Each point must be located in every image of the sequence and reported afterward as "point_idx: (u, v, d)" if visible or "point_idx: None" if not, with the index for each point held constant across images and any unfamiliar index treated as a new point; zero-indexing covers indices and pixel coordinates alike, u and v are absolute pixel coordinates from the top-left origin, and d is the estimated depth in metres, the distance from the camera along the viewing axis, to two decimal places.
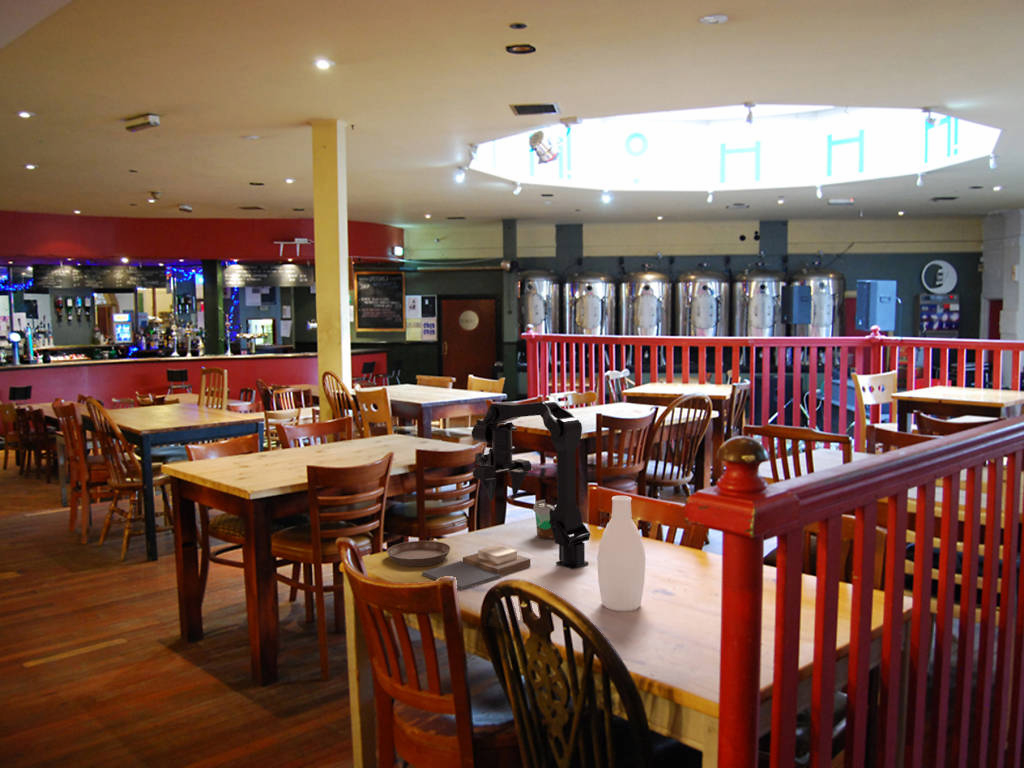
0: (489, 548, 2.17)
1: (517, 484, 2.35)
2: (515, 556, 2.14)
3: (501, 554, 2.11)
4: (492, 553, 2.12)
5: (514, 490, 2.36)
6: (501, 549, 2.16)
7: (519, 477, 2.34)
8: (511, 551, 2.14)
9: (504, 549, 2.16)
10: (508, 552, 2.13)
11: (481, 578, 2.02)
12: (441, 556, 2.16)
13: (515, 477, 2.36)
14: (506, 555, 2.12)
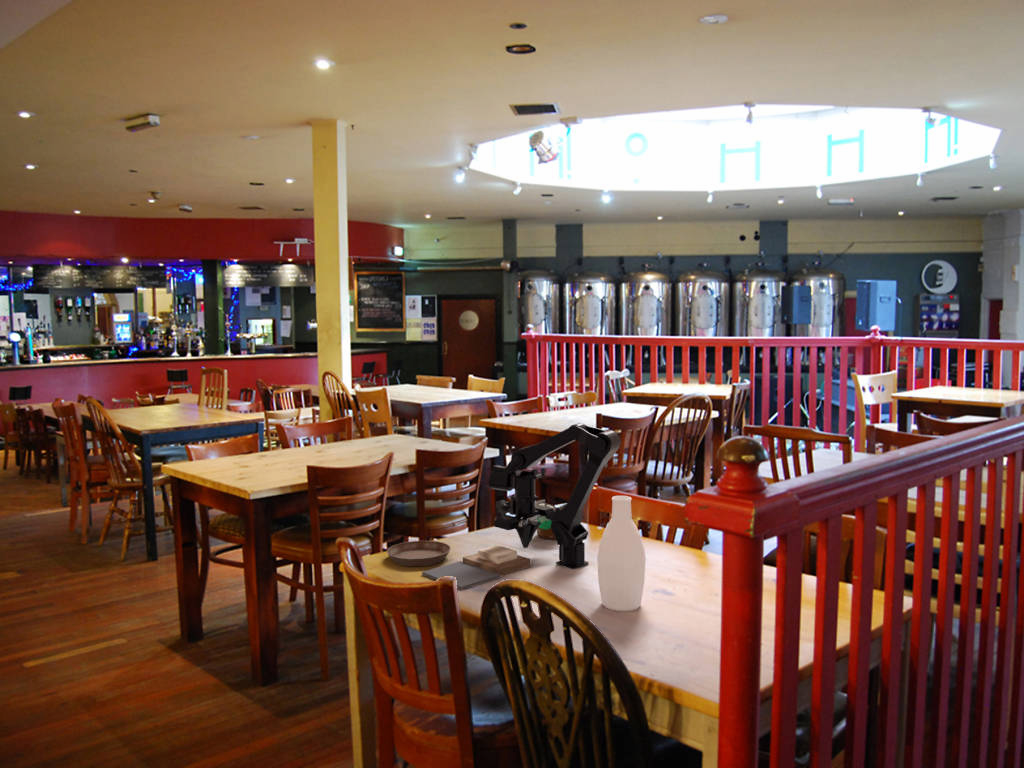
0: (489, 548, 2.17)
1: (529, 536, 2.21)
2: (515, 556, 2.14)
3: (501, 554, 2.11)
4: (492, 553, 2.12)
5: None
6: (501, 549, 2.16)
7: (531, 529, 2.21)
8: (511, 551, 2.14)
9: (504, 549, 2.16)
10: (508, 552, 2.13)
11: (481, 578, 2.02)
12: (441, 556, 2.16)
13: None
14: (506, 555, 2.12)
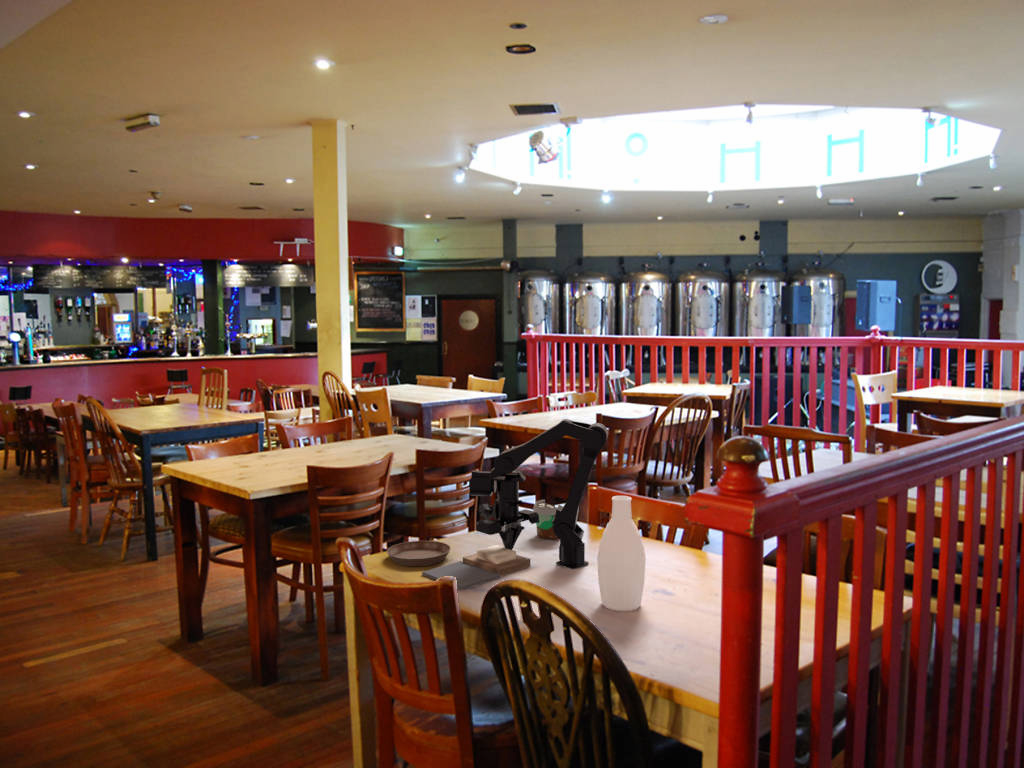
0: (488, 548, 2.16)
1: (512, 541, 2.17)
2: (514, 557, 2.14)
3: (500, 554, 2.11)
4: (490, 553, 2.12)
5: None
6: (500, 549, 2.16)
7: (515, 533, 2.16)
8: (510, 551, 2.14)
9: (503, 549, 2.15)
10: (507, 552, 2.13)
11: (481, 578, 2.02)
12: (441, 556, 2.16)
13: None
14: (505, 555, 2.11)
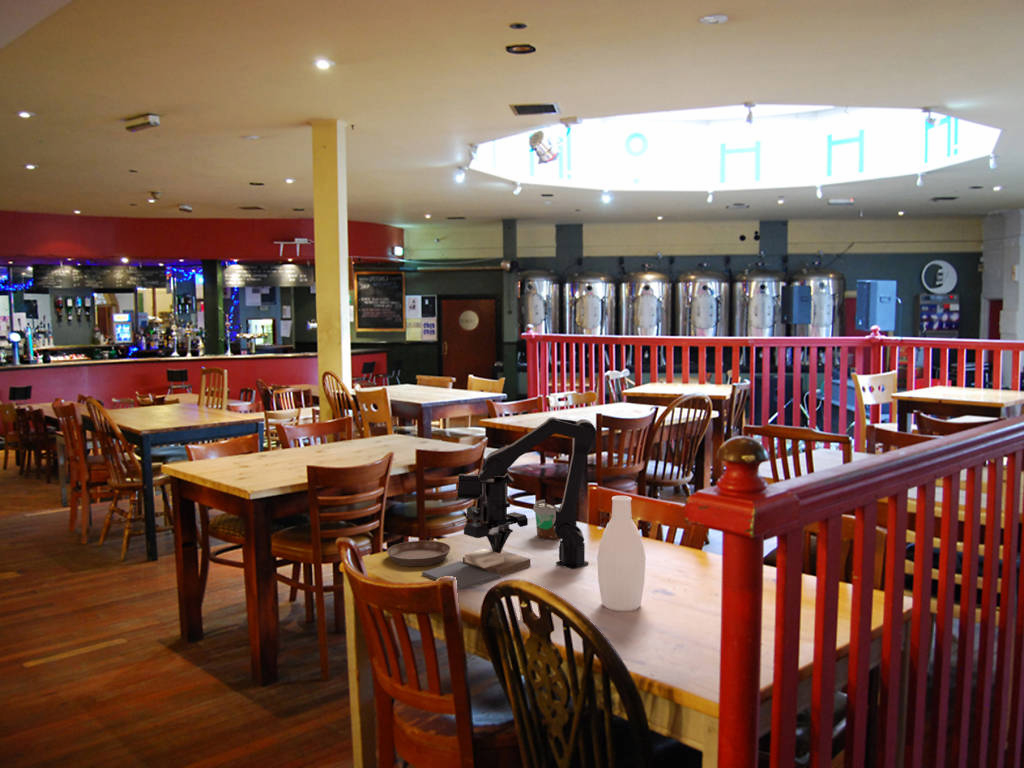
0: (476, 552, 2.13)
1: (500, 544, 2.14)
2: (502, 560, 2.10)
3: (487, 558, 2.08)
4: (478, 557, 2.09)
5: None
6: (488, 553, 2.13)
7: (503, 536, 2.13)
8: (498, 555, 2.10)
9: (491, 553, 2.12)
10: (495, 556, 2.10)
11: (481, 578, 2.02)
12: (441, 556, 2.16)
13: None
14: (493, 559, 2.08)
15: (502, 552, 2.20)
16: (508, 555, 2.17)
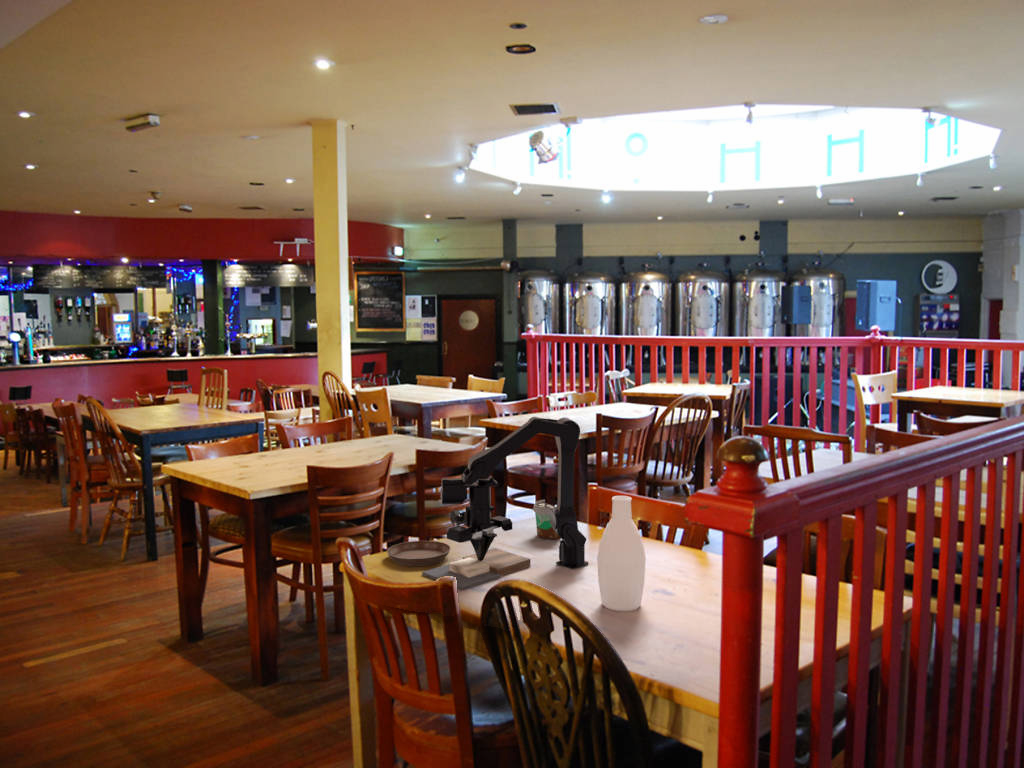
0: (461, 561, 2.10)
1: (484, 548, 2.10)
2: (487, 569, 2.07)
3: (472, 567, 2.04)
4: (463, 566, 2.05)
5: None
6: (473, 562, 2.09)
7: (487, 541, 2.09)
8: (483, 564, 2.07)
9: (476, 562, 2.09)
10: (480, 565, 2.06)
11: (481, 578, 2.02)
12: (441, 556, 2.16)
13: None
14: (477, 568, 2.04)
15: (502, 552, 2.20)
16: (508, 555, 2.17)
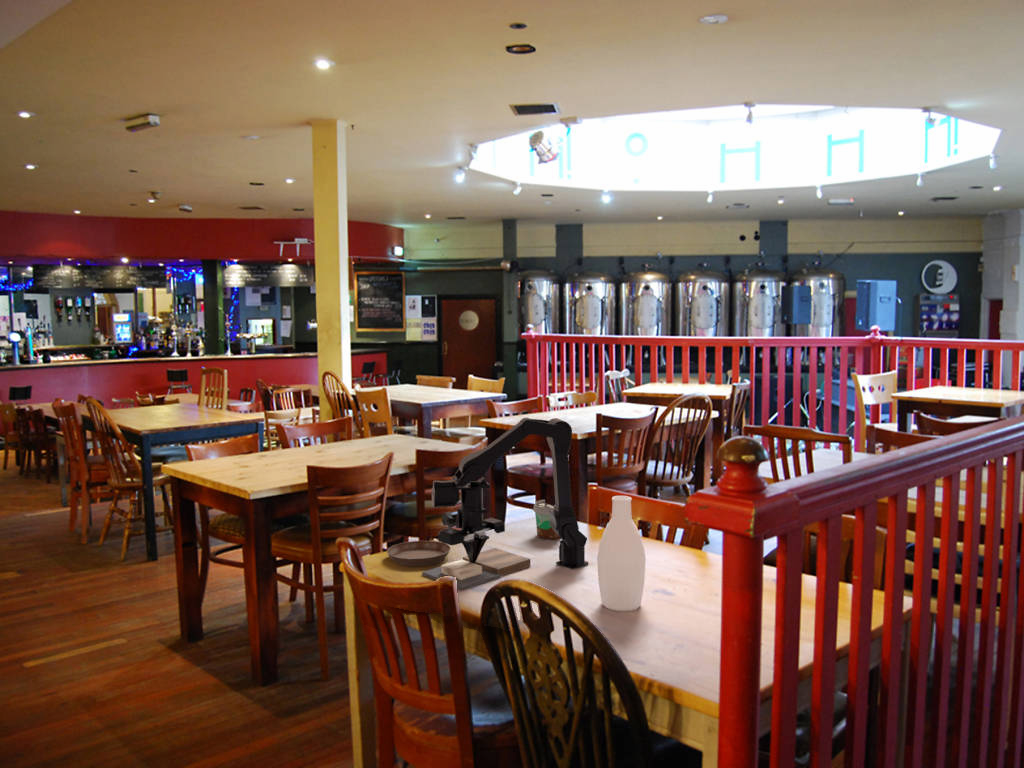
0: (453, 563, 2.08)
1: (476, 551, 2.08)
2: (479, 572, 2.05)
3: (464, 570, 2.02)
4: (455, 568, 2.03)
5: None
6: (465, 564, 2.07)
7: (479, 543, 2.07)
8: (475, 566, 2.05)
9: (468, 564, 2.07)
10: (472, 567, 2.04)
11: (481, 578, 2.02)
12: (441, 556, 2.16)
13: None
14: (470, 571, 2.03)
15: (502, 552, 2.20)
16: (508, 555, 2.17)
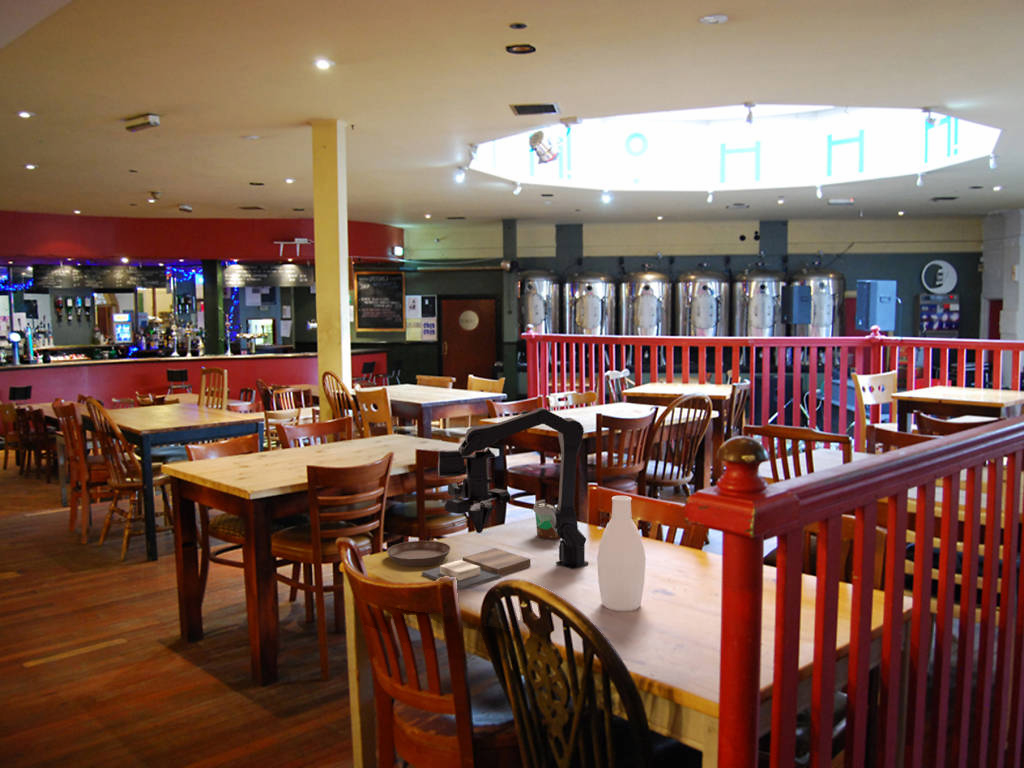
0: (451, 563, 2.08)
1: (482, 520, 2.09)
2: (478, 572, 2.05)
3: (463, 570, 2.02)
4: (453, 569, 2.03)
5: None
6: (464, 564, 2.07)
7: (485, 512, 2.09)
8: (474, 567, 2.05)
9: (467, 565, 2.07)
10: (470, 568, 2.04)
11: (481, 578, 2.02)
12: (441, 556, 2.16)
13: None
14: (468, 571, 2.02)
15: (502, 552, 2.20)
16: (508, 555, 2.17)
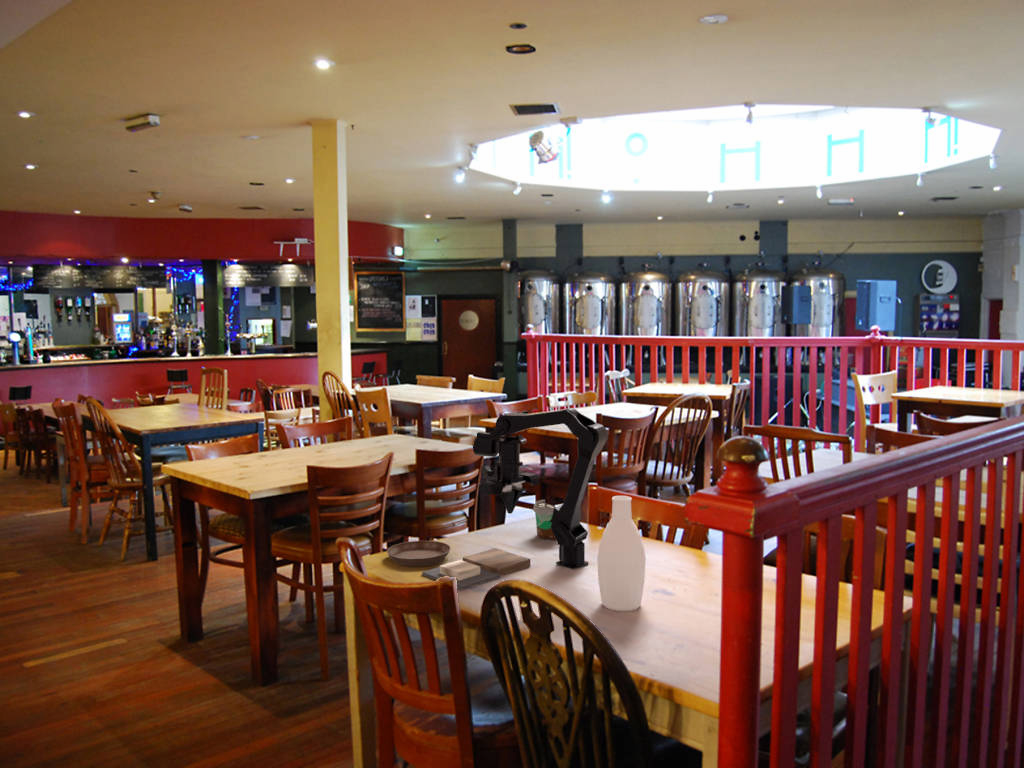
0: (451, 563, 2.08)
1: (513, 501, 2.22)
2: (478, 572, 2.05)
3: (463, 570, 2.02)
4: (453, 569, 2.03)
5: None
6: (464, 564, 2.07)
7: (516, 494, 2.21)
8: (474, 567, 2.05)
9: (467, 565, 2.07)
10: (470, 568, 2.04)
11: (481, 578, 2.02)
12: (441, 556, 2.16)
13: None
14: (468, 571, 2.02)
15: (502, 552, 2.20)
16: (508, 555, 2.17)
